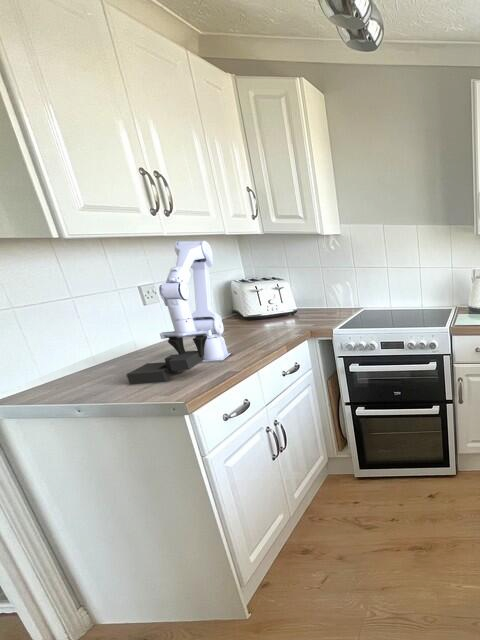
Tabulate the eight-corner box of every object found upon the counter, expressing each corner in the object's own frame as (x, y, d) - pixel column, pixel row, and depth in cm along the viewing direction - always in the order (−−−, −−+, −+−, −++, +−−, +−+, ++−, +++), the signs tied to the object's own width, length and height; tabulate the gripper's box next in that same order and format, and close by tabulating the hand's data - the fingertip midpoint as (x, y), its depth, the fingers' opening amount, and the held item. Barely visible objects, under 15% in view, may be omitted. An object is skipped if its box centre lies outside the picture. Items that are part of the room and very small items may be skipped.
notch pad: (149, 372, 145) (146, 363, 144) (182, 370, 147) (180, 361, 146) (129, 384, 134) (126, 374, 133) (165, 381, 136) (162, 371, 135)
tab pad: (179, 361, 146) (176, 351, 145) (204, 359, 148) (201, 350, 146) (161, 371, 135) (158, 361, 134) (189, 369, 137) (186, 359, 136)
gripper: (150, 322, 135) (162, 362, 140) (201, 319, 138) (211, 358, 143) (161, 318, 141) (173, 356, 146) (210, 316, 145) (219, 353, 149)
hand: (192, 357), depth 145 cm, fingers closed on tab pad, 5 cm apart
